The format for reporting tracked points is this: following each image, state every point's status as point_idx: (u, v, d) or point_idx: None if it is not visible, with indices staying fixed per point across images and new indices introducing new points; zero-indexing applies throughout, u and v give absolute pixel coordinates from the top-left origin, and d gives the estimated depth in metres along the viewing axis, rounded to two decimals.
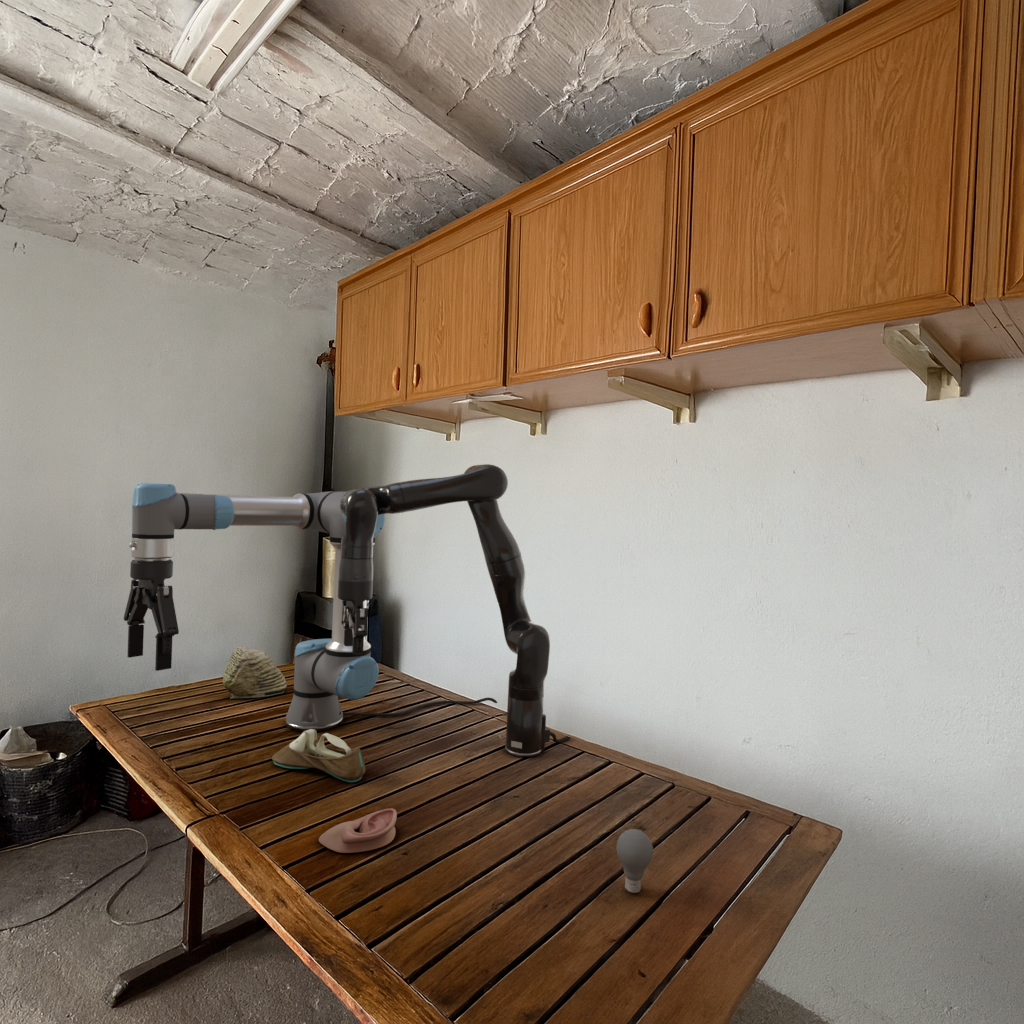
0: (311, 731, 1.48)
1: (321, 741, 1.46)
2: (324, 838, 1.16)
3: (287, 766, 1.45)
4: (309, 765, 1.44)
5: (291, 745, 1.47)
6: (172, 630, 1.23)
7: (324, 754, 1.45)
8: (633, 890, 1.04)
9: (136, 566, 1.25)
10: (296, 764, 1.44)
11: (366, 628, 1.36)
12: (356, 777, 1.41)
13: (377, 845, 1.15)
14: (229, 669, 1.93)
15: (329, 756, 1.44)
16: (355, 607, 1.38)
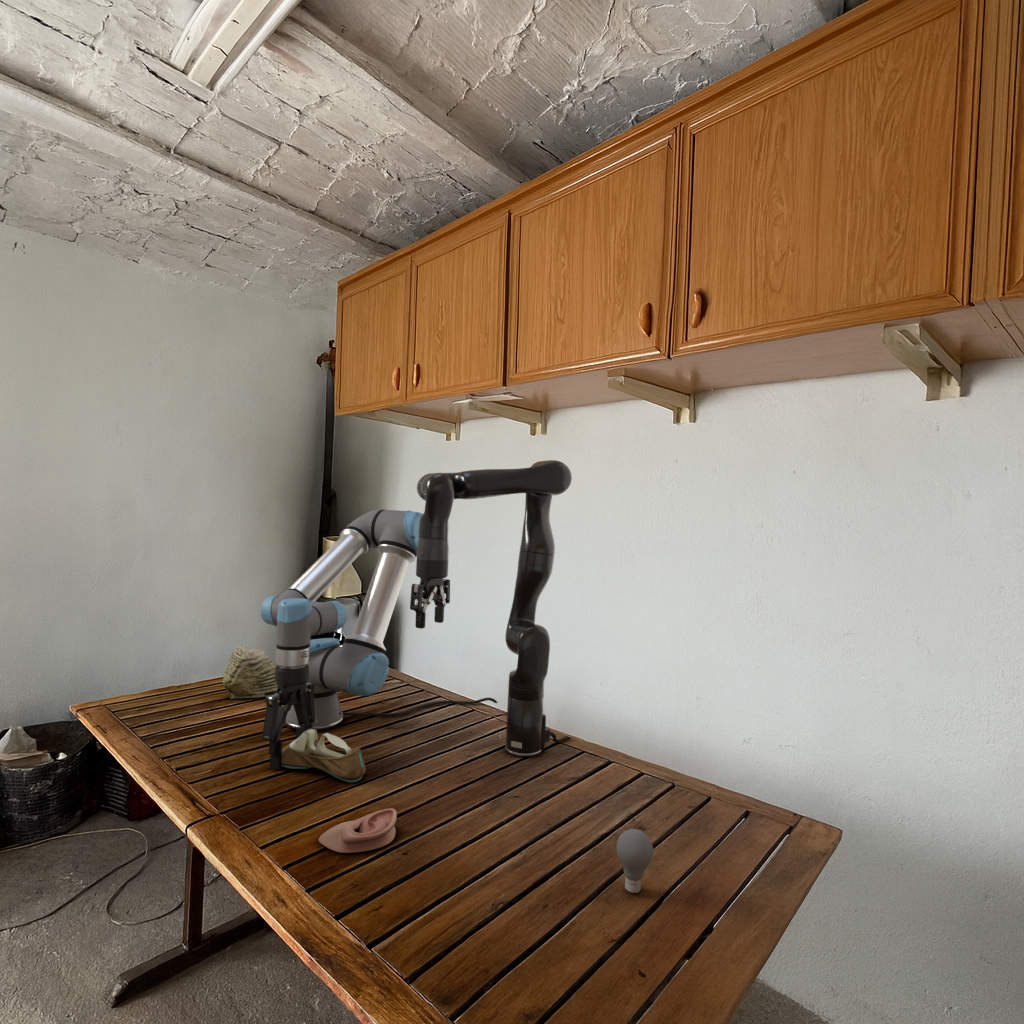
0: (311, 731, 1.48)
1: (321, 741, 1.46)
2: (324, 838, 1.16)
3: (287, 766, 1.45)
4: (309, 765, 1.44)
5: (291, 745, 1.47)
6: None
7: (324, 754, 1.45)
8: (633, 890, 1.04)
9: (307, 671, 1.49)
10: (296, 764, 1.44)
11: (418, 603, 1.43)
12: (356, 777, 1.41)
13: (377, 845, 1.15)
14: (229, 669, 1.93)
15: (330, 756, 1.44)
16: (420, 583, 1.47)
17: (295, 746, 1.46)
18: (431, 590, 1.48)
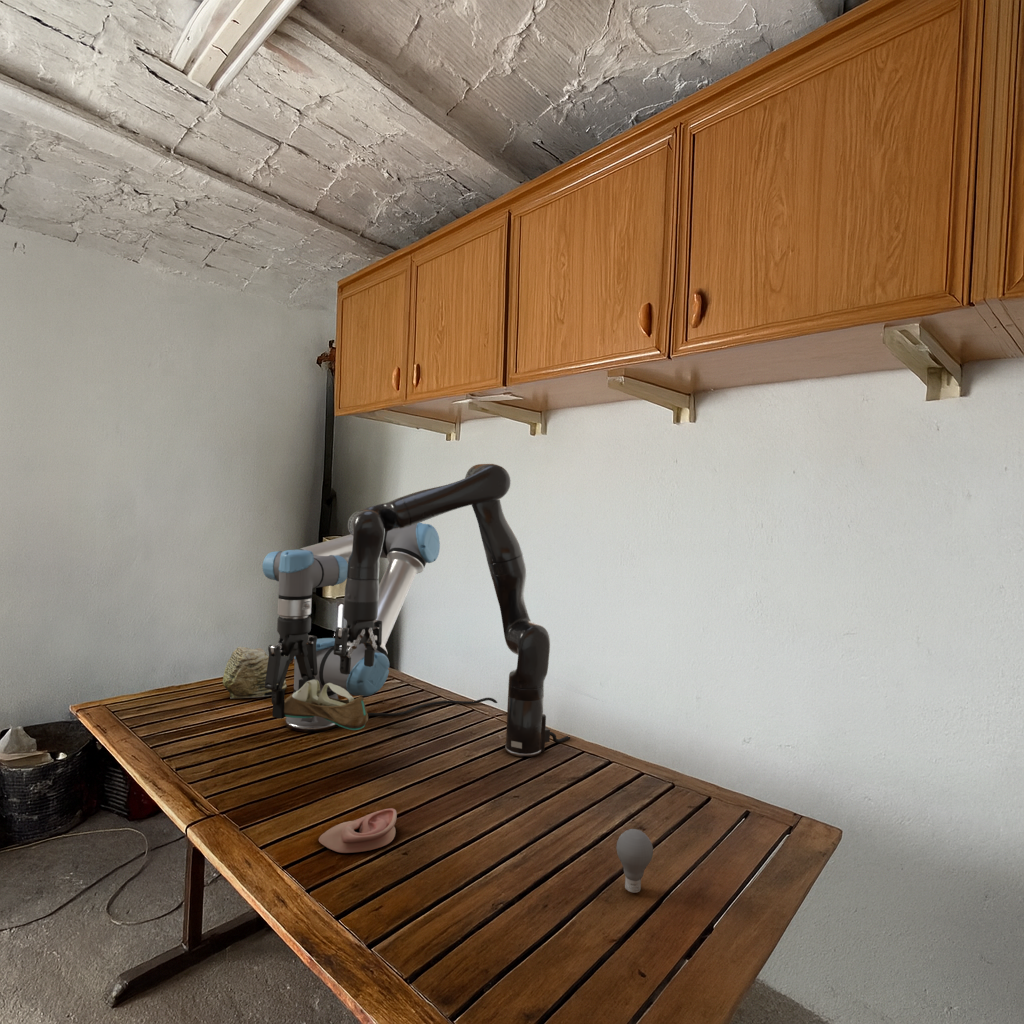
0: (314, 681, 1.48)
1: (324, 691, 1.46)
2: (324, 838, 1.16)
3: (290, 715, 1.45)
4: (312, 714, 1.44)
5: (294, 695, 1.47)
6: None
7: (326, 703, 1.45)
8: (633, 890, 1.04)
9: (310, 621, 1.49)
10: (299, 713, 1.44)
11: (342, 648, 1.36)
12: (359, 725, 1.41)
13: (377, 845, 1.15)
14: (229, 669, 1.93)
15: (332, 705, 1.44)
16: (346, 626, 1.39)
17: (298, 696, 1.46)
18: (358, 633, 1.40)
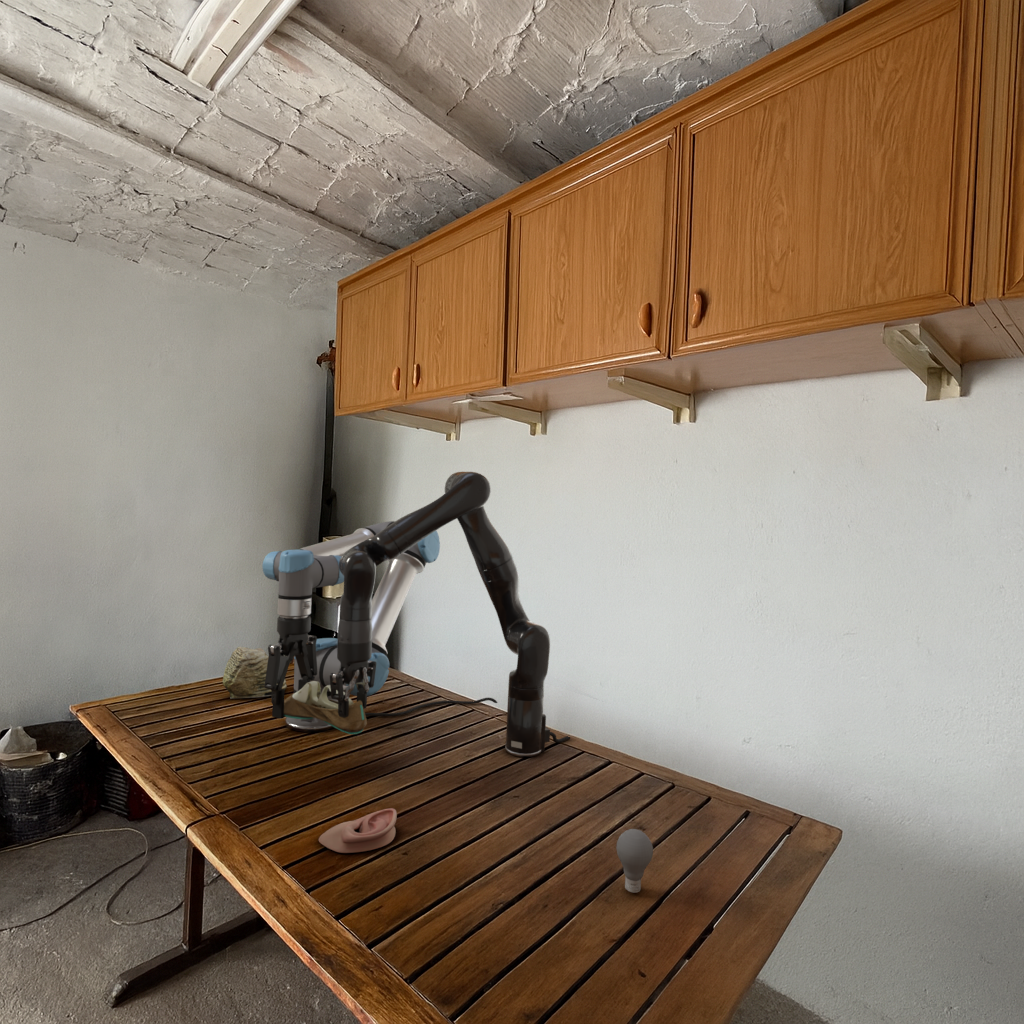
0: (314, 683, 1.47)
1: (324, 693, 1.46)
2: (324, 838, 1.16)
3: (289, 716, 1.45)
4: (311, 715, 1.44)
5: (294, 695, 1.47)
6: None
7: (326, 706, 1.44)
8: (633, 890, 1.04)
9: (310, 621, 1.49)
10: (298, 714, 1.44)
11: (339, 694, 1.37)
12: (357, 729, 1.40)
13: (377, 845, 1.15)
14: (229, 669, 1.93)
15: (331, 707, 1.44)
16: (340, 668, 1.39)
17: (298, 696, 1.46)
18: (352, 675, 1.40)
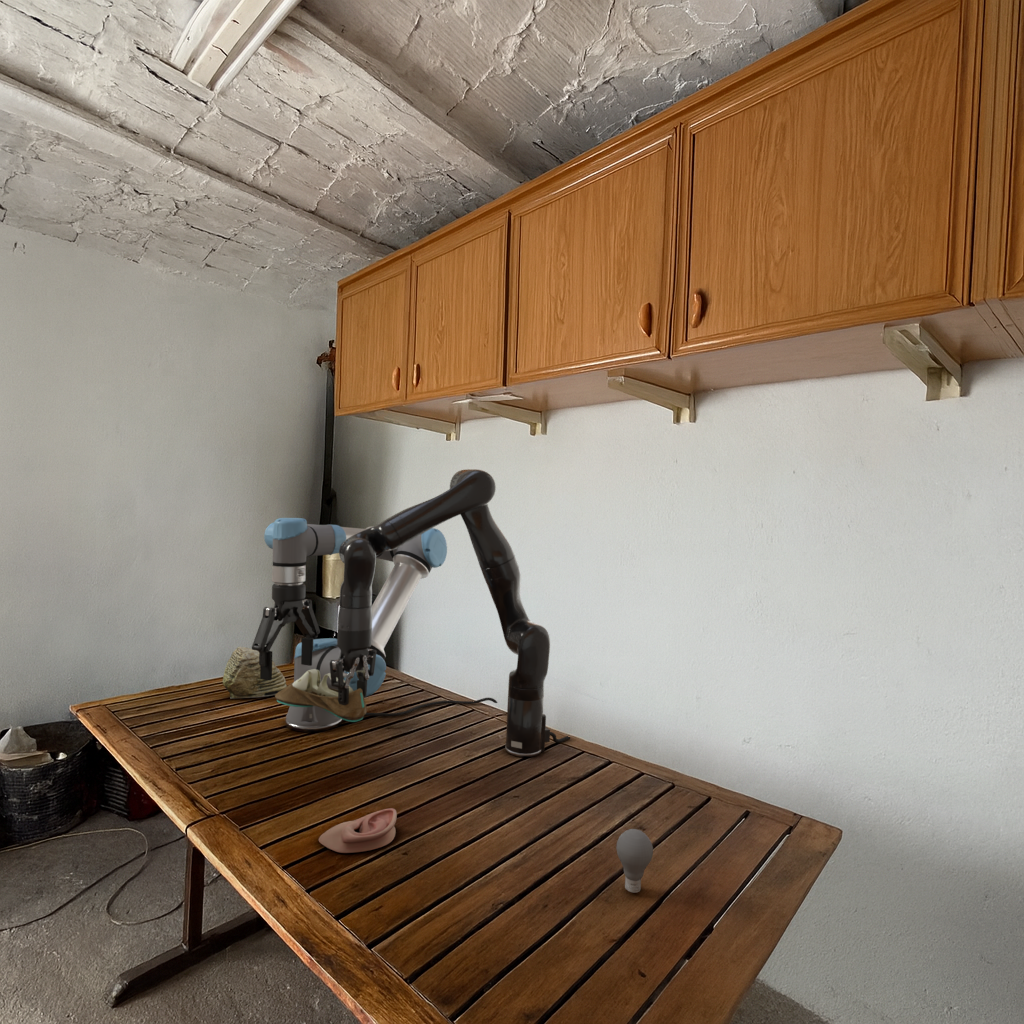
0: (314, 671, 1.47)
1: (324, 681, 1.45)
2: (324, 838, 1.16)
3: (289, 704, 1.45)
4: (311, 703, 1.43)
5: (294, 683, 1.46)
6: None
7: (326, 694, 1.44)
8: (633, 890, 1.04)
9: (304, 588, 1.50)
10: (298, 702, 1.44)
11: (339, 681, 1.36)
12: (357, 717, 1.40)
13: (377, 845, 1.15)
14: (229, 669, 1.93)
15: (331, 695, 1.43)
16: (340, 655, 1.39)
17: (297, 685, 1.45)
18: (352, 663, 1.40)
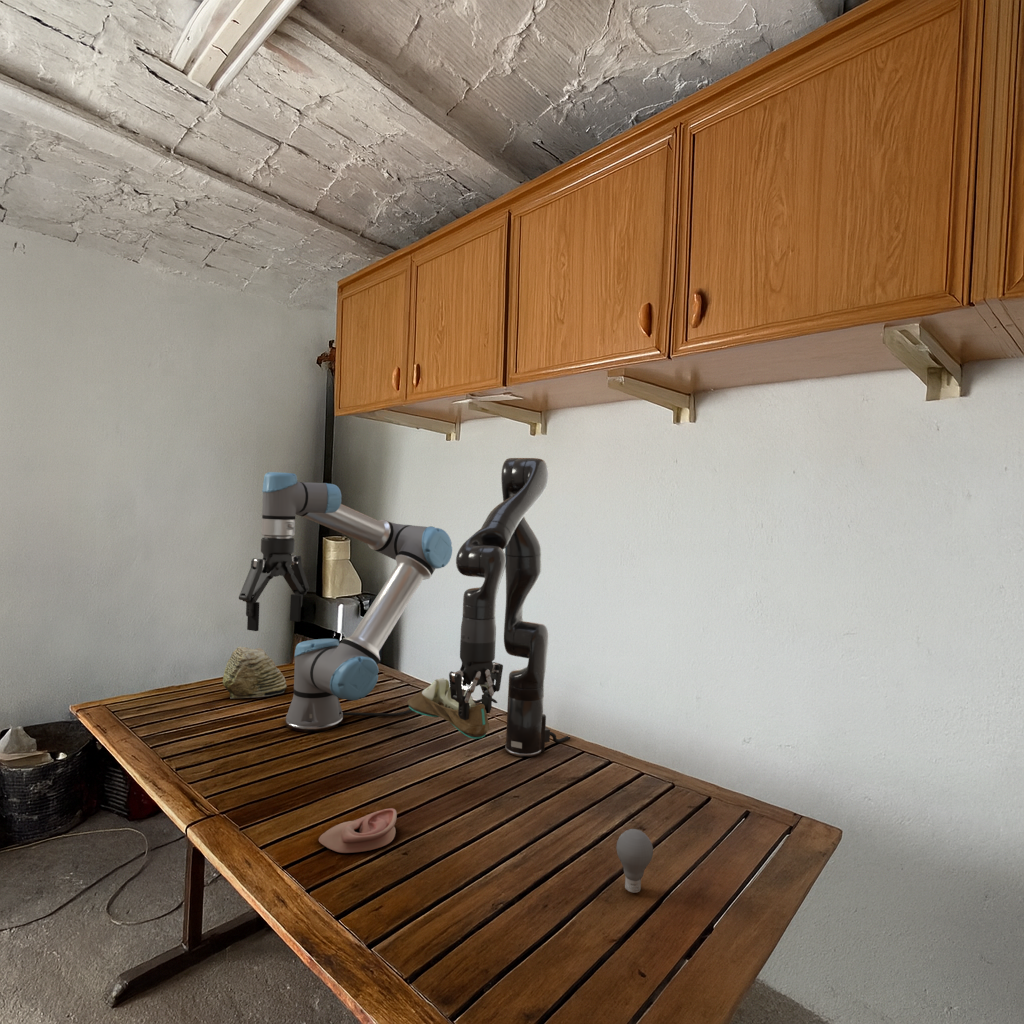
0: (443, 680, 1.43)
1: (450, 692, 1.41)
2: (324, 838, 1.16)
3: (418, 711, 1.43)
4: (436, 714, 1.40)
5: (423, 691, 1.44)
6: None
7: (451, 705, 1.39)
8: (633, 890, 1.04)
9: (293, 542, 1.51)
10: (425, 711, 1.41)
11: (457, 694, 1.30)
12: (477, 734, 1.33)
13: (377, 845, 1.15)
14: (229, 669, 1.93)
15: (455, 708, 1.38)
16: None
17: (426, 693, 1.43)
18: (473, 676, 1.33)
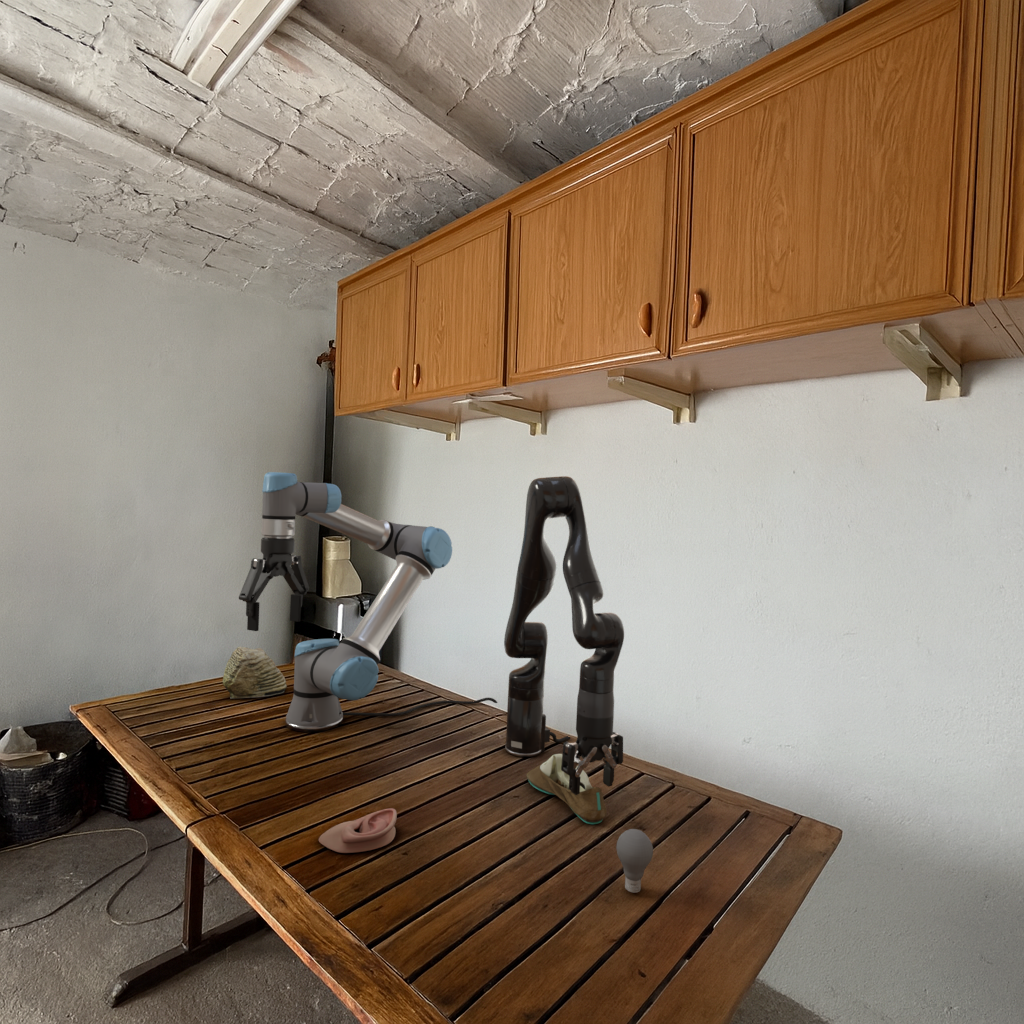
0: (560, 756, 1.39)
1: None
2: (324, 838, 1.16)
3: (536, 787, 1.40)
4: (553, 792, 1.36)
5: (541, 766, 1.41)
6: None
7: (567, 784, 1.35)
8: (633, 890, 1.04)
9: (293, 542, 1.51)
10: (542, 787, 1.38)
11: (568, 767, 1.25)
12: (592, 819, 1.27)
13: (377, 845, 1.15)
14: (229, 669, 1.93)
15: None
16: (576, 741, 1.28)
17: (543, 768, 1.40)
18: (589, 751, 1.27)
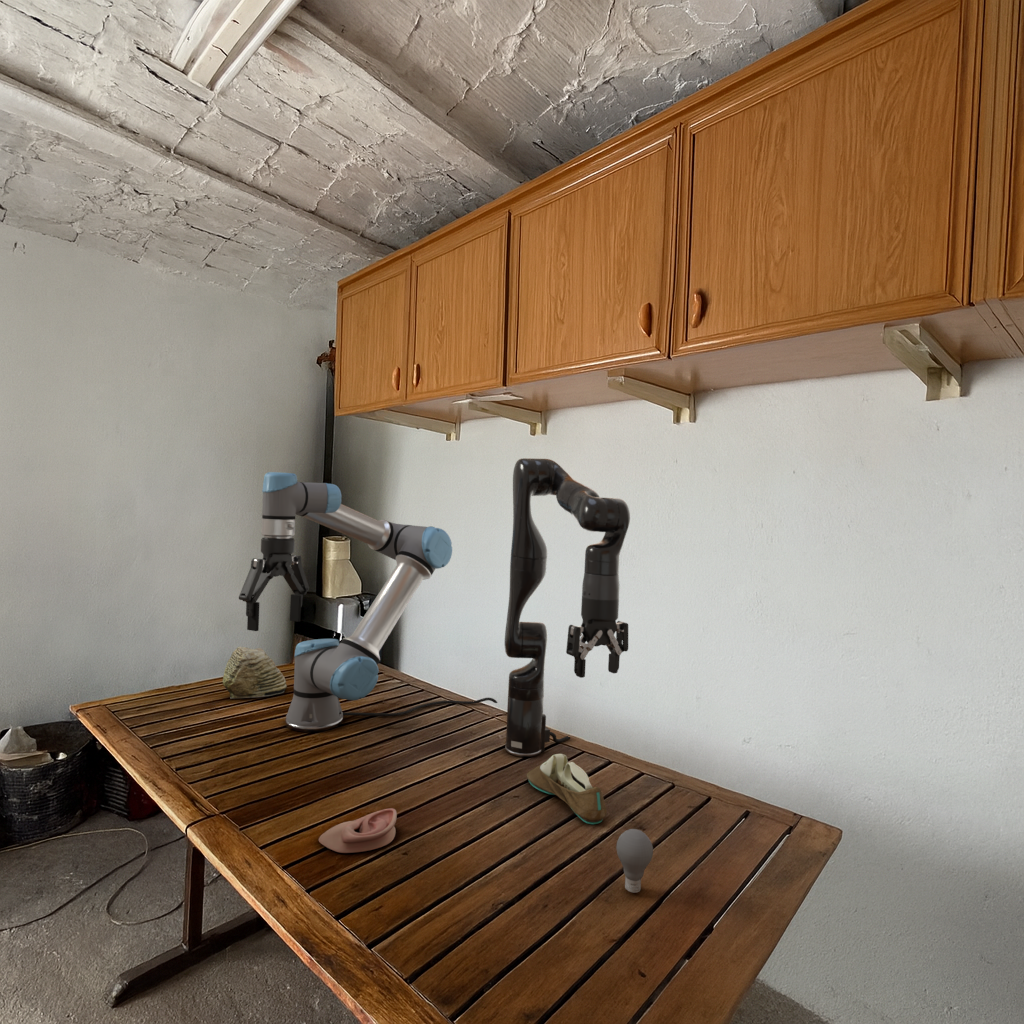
0: (560, 756, 1.39)
1: (567, 769, 1.36)
2: (324, 838, 1.16)
3: (536, 787, 1.40)
4: (553, 792, 1.36)
5: (541, 766, 1.41)
6: None
7: (567, 784, 1.35)
8: (633, 890, 1.04)
9: (293, 542, 1.51)
10: (542, 787, 1.38)
11: (573, 648, 1.25)
12: (593, 819, 1.27)
13: (377, 845, 1.15)
14: (229, 669, 1.93)
15: (572, 787, 1.33)
16: (581, 625, 1.28)
17: (543, 768, 1.40)
18: (594, 634, 1.27)
